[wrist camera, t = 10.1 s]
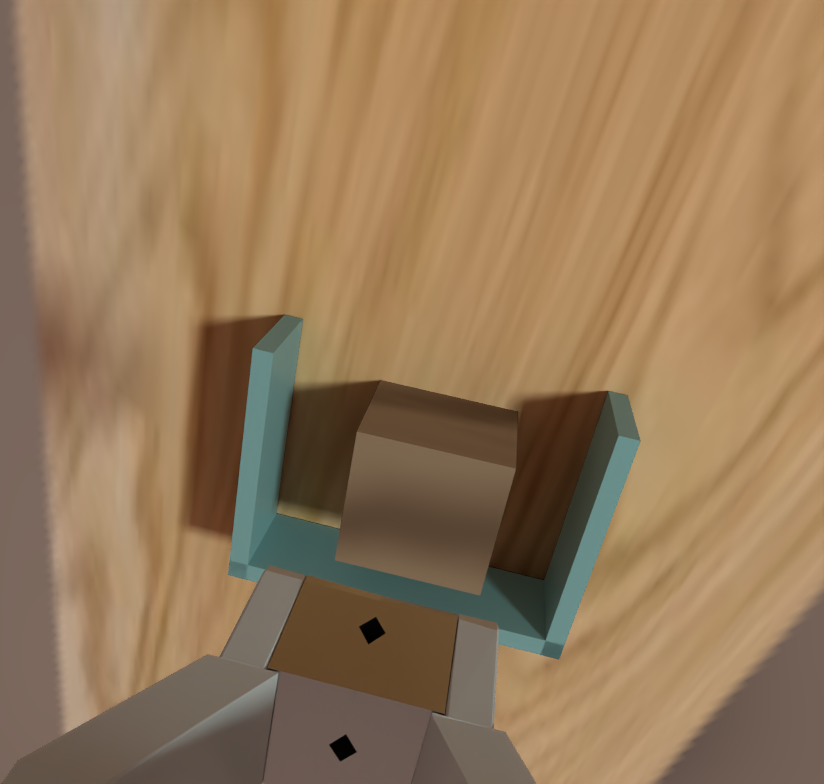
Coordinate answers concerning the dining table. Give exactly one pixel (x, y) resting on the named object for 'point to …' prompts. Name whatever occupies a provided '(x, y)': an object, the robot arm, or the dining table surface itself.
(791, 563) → the dining table surface
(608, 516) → the box
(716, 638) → the dining table surface
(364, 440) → the walnut tile block
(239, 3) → the dining table surface
